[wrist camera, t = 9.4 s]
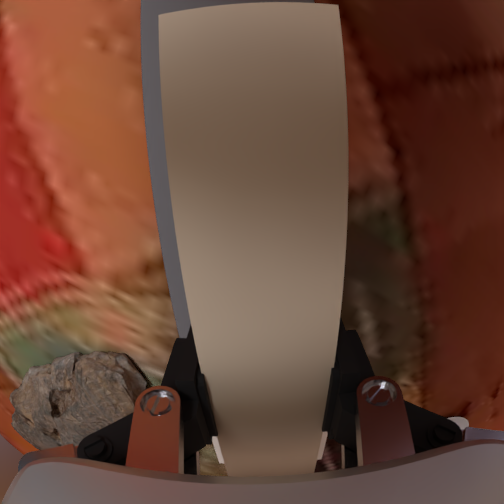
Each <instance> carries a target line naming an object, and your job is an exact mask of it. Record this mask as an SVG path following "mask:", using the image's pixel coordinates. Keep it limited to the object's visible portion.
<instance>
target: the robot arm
mask: <svg viewBox="0 0 504 504" xmlns="http://www.w3.org/2000/svg"><path fill="white" fill-rule="evenodd" d="M322 432H327V433H328V438H329V439H334V440H335V441H337V442H338V443H340V444H342V469H340V470H333V471H325V472H317V473H307V474H296V475H282V476H255V477H232V476H205V475H200V463H199V450H200V449H202V448H203V447H205V446H206V444H212V437H213V436H216V437H217V436H218V431H217V427H216V423H215V419H214V415H213V411H212V407H211V403H210V399H209V394H208V390H207V386H206V381H205V377H204V374H201V369H200V365H199V360H198V356H197V351H196V346H195V341H194V336H193V331H192V326H191V325H190V328H189V331H188V335H187V338H177V339H176V341H175V343H174V346H173V349H172V352H171V356H170V359H169V362H168V365H167V368H166V371H165V374H164V377H163V380H162V384H161V386H154V387H151V388H148V389H146V390H144V391H143V392H142V393H141V394H140V395H139V396H138V397H137V399H136V402H135V407H134V412H133V413H131V414H129V415H127V416H125V417H123V418H121V419H119V420H117V421H116V422H114V423H112V424H110V425H108V426H106V427H104V428H102V429H100V430H98V431H96V432H94V433H92V434H90V435H88V436H86V437H85V438H83V439H82V441H81V442H80V443H79V445H78V446H74V445H73V444H68V445H64V446H59V447H54V448H49V449H44V450H39V451H33V452H29V453H26V454H25V455H24V456H23V457H22V458H21V459H20V461H19V466H18V470H19V472H18V474H17V475H16V477H15V478H14V480H13V482H12V483H11V485H10V487H9V489H8V491H7V493H6V495H5V497H4V499H3V501H2V504H504V431H496V430H487V429H479V428H472V427H466V428H465V429H464V430H463V429H460V427H459V426H458V425H457V424H456V423H455V422H453V421H452V420H450V419H447V418H445V417H442V416H440V415H437V414H435V413H433V412H430V411H428V410H425V409H423V408H421V407H418V406H416V405H414V404H412V403H409V402H407V401H405V400H404V399H403V395H402V391H401V389H400V387H399V385H398V384H397V383H396V382H395V381H393V380H391V379H390V378H386V377H383V376H375V375H374V372H373V370H372V367H371V365H370V362H369V360H368V357H367V355H366V353H365V350H364V348H363V345H362V343H361V340H360V338H359V336H358V333H357V332H356V330H348V331H346V330H345V327H344V325H343V322H342V320H341V317H340V323H339V332H338V340H337V348H336V356H335V363H334V368H331V375H330V382H329V388H328V395H327V401H326V407H325V413H324V418H323V424H322Z"/></svg>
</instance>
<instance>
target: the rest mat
mask: <svg viewBox="0 0 504 504" xmlns="http://www.w3.org/2000/svg"><path fill="white" fill-rule="evenodd" d="M260 2H302V3H314V0H141V63H142V85H143V101H144V115H145V127H146V138H147V148H148V158H149V167H150V175H151V183H152V191H153V198H154V205H155V212H156V219H157V225H158V231H159V237H160V243H161V249H162V255H163V261H164V266H165V271H166V277H167V282H168V287H169V292H170V297H171V301H172V306H173V311H174V315H175V320H176V324H177V329H178V333H179V337H180V338H187V335H188V331H189V328H190V325H191V321H190V316H189V311H188V305H187V300H186V294H185V289H184V283H183V277H182V271H181V265H180V259H179V252H178V246H177V239H176V232H175V225H174V218H173V210H172V203H171V195H170V186H169V178H168V169H167V159H166V149H165V138H164V126H163V113H162V99H161V82H160V61H159V17H158V15H160V14H165V13H170V12H176V11H181V10H187V9H194V8H201V7H209V6H218V5H228V4H240V3H260Z"/></svg>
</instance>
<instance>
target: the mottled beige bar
mask: <svg viewBox="0 0 504 504" xmlns="http://www.w3.org/2000/svg"><path fill="white" fill-rule="evenodd" d="M158 17H159V61H160V82H161V99H162V113H163V126H164V138H165V149H166V159H167V169H168V178H169V186H170V195H171V203H172V210H173V218H174V225H175V232H176V239H177V246H178V252H179V259H180V265H181V271H182V277H183V283H184V289H185V294H186V300H187V305H188V311H189V316H190V321H191V326H192V331H193V336H194V341H195V346H196V351H197V356H198V360H199V365H200V369H201V374H204V377H205V381H206V386H207V390H208V394H209V399H210V403H211V407H212V411H213V415H214V419H215V423H216V427H217V431H218V436H217V438H218V442H219V446H220V449H221V453H222V457H223V460H224V464H225V467H226V470H227V474H228V476H232V477H255V476H282V475H296V474H307V473H314V471H315V466H316V462H317V457H318V453H319V448H320V443H321V439H322V434H323V432H322V424H323V418H324V413H325V407H326V401H327V395H328V388H329V382H330V375H331V368H334V363H335V356H336V348H337V340H338V332H339V323H340V314H341V304H342V294H343V282H344V270H345V255H346V238H347V215H348V116H347V94H346V77H345V64H344V52H343V42H342V32H341V23H340V15H339V7H338V5H333V4H321V3H302V2H260V3H240V4H228V5H218V6H209V7H201V8H194V9H187V10H181V11H176V12H170V13H165V14H160V15H158Z"/></svg>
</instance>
